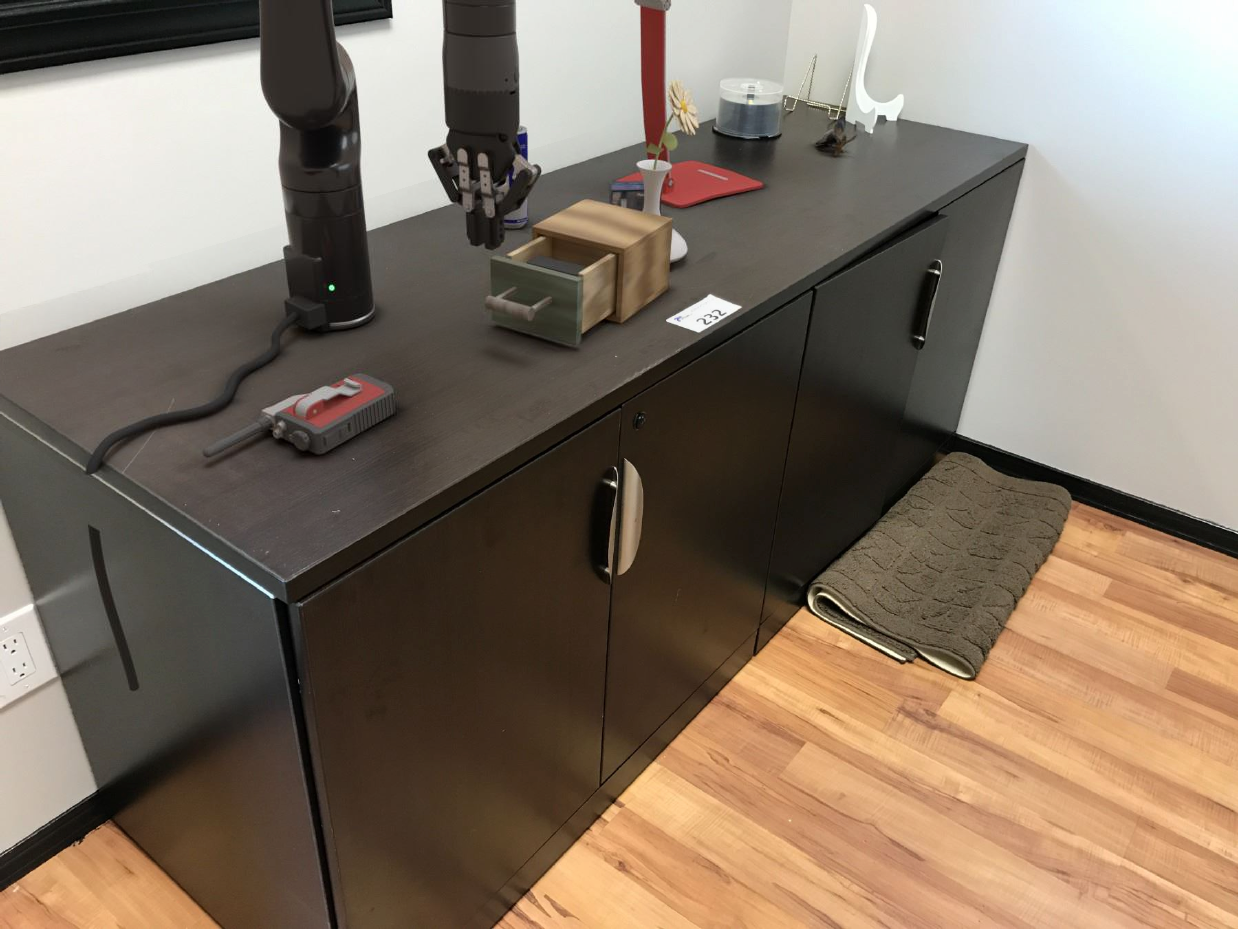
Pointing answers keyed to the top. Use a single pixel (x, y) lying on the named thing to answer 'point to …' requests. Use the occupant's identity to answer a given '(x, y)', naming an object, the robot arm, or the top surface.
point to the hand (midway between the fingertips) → (486, 245)
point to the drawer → (553, 289)
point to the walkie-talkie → (321, 415)
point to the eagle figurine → (836, 136)
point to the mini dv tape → (628, 194)
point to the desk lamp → (685, 178)
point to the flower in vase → (658, 169)
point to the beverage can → (520, 215)
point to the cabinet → (620, 247)
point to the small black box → (556, 265)
